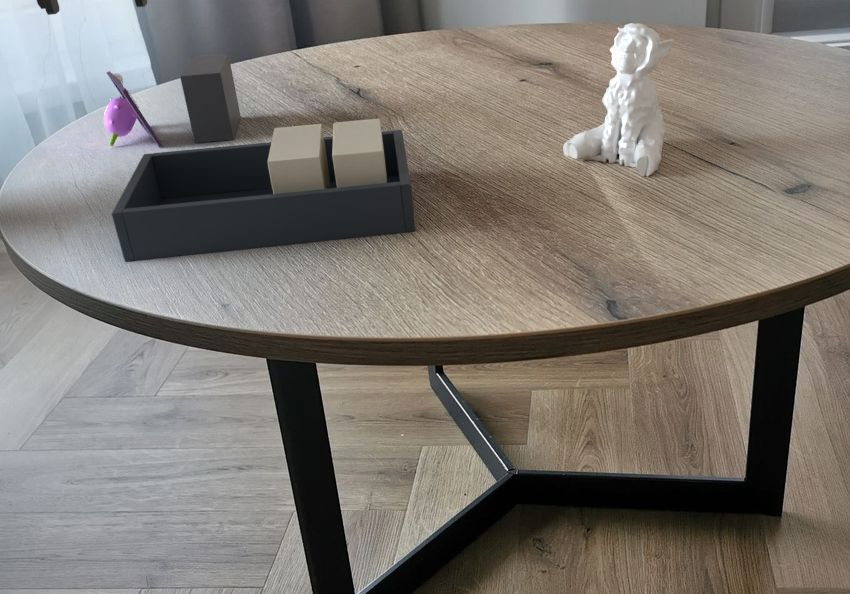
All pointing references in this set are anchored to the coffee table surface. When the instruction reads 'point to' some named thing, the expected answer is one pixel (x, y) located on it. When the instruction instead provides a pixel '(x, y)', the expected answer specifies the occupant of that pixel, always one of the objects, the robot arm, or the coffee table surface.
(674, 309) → the coffee table surface
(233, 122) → the grey box
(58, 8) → the robot arm
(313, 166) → the cream box
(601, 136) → the seated beast figurine
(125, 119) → the purple bumpy fruit toy
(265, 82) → the coffee table surface
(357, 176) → the cream box
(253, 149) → the tray
